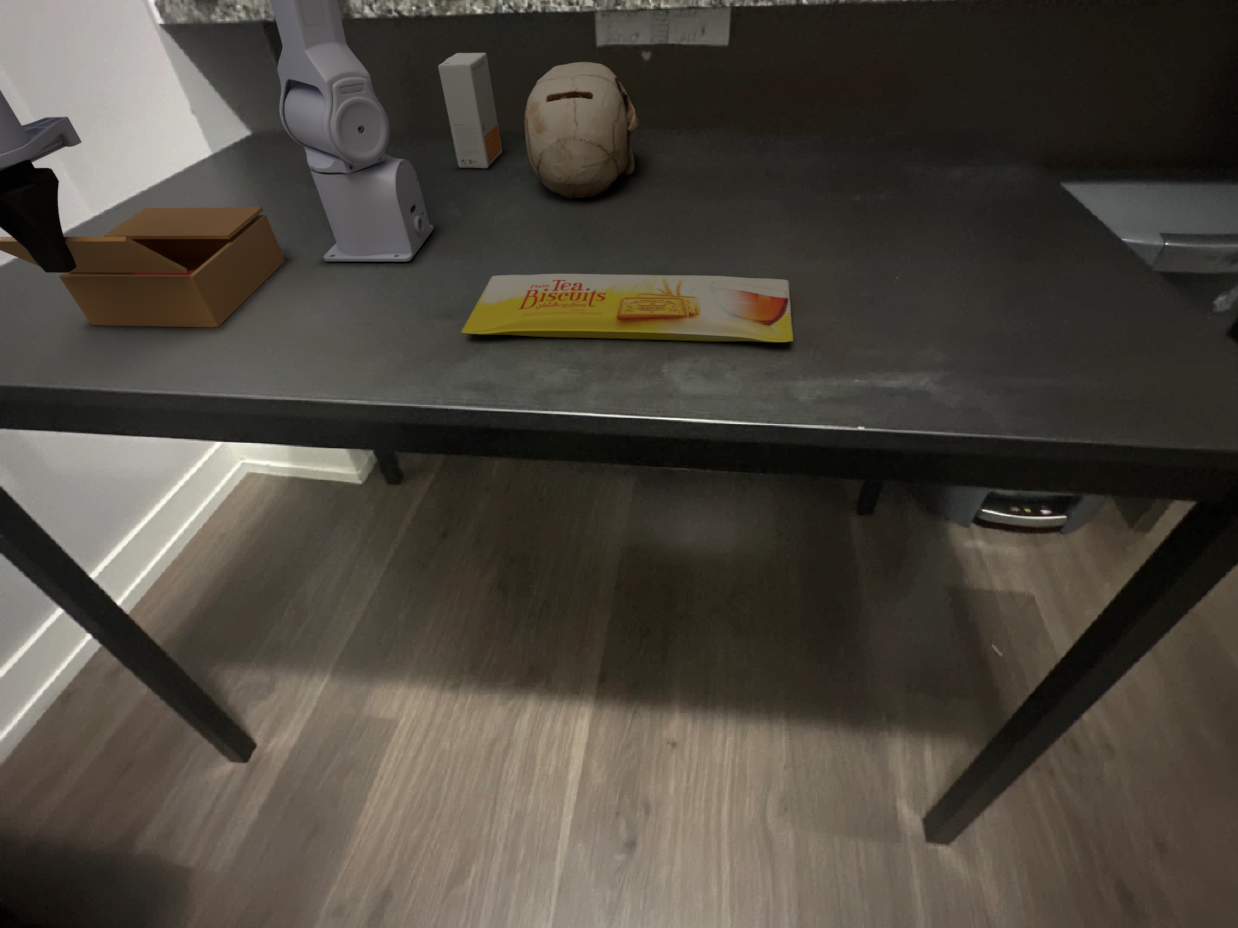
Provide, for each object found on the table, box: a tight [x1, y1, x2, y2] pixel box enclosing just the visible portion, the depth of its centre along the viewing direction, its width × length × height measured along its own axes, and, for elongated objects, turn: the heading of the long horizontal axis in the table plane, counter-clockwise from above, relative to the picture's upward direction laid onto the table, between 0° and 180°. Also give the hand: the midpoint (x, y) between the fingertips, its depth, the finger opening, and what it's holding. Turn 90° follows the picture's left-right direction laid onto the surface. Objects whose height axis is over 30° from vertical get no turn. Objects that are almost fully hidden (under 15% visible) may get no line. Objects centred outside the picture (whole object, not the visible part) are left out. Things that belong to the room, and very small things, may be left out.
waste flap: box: [0, 236, 187, 273], centre depth 56 cm, size 13×6×1 cm
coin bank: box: [523, 61, 640, 200], centre depth 80 cm, size 16×17×13 cm
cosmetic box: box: [437, 52, 503, 169], centre depth 86 cm, size 6×4×12 cm
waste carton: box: [59, 206, 286, 328], centre depth 66 cm, size 13×13×6 cm
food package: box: [460, 273, 794, 343], centre depth 59 cm, size 27×2×10 cm
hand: (61, 269), depth 54 cm, fingers closed, pressing on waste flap
